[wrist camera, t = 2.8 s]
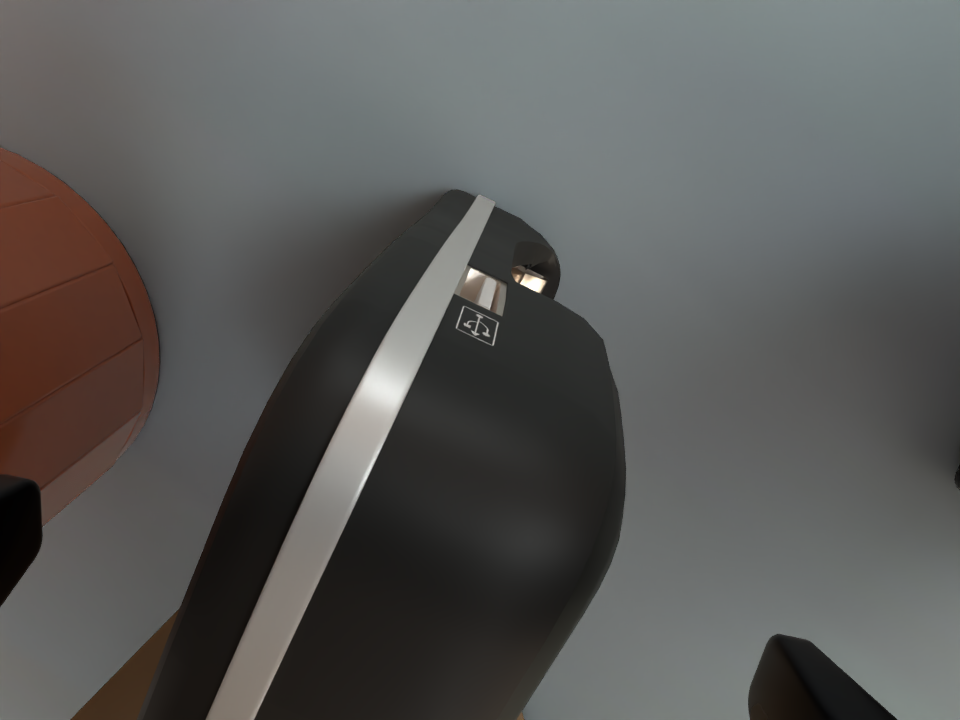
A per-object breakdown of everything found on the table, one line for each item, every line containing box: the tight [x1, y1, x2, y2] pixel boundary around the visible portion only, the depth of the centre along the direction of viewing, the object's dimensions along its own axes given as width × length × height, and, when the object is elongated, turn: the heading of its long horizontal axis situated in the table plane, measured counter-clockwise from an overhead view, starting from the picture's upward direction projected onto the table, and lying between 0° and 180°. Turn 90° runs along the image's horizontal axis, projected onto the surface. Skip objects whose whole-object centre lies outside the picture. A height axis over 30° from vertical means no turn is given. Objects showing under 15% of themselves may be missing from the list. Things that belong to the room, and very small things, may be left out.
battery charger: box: [137, 190, 626, 720], centre depth 12 cm, size 7×4×11 cm, turn 155°
